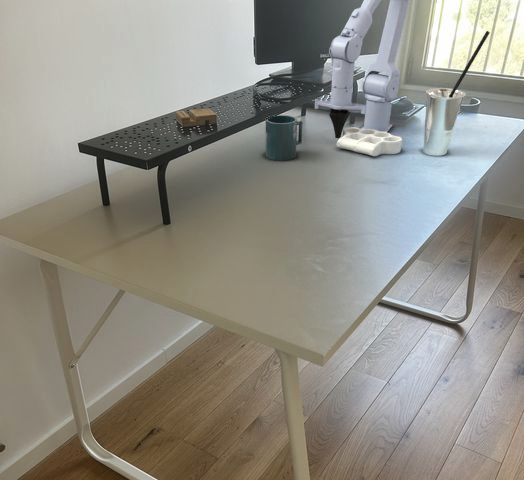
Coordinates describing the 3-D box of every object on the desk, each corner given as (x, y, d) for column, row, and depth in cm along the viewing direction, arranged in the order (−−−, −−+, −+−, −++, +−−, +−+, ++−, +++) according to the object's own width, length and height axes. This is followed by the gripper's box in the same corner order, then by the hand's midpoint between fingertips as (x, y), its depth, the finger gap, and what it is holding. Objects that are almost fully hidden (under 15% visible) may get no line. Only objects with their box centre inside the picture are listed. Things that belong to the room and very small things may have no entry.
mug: (278, 162, 147) (278, 125, 142) (259, 154, 153) (259, 118, 147) (310, 154, 153) (312, 118, 147) (291, 146, 158) (292, 111, 152)
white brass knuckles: (326, 147, 157) (354, 135, 166) (382, 161, 148) (409, 147, 157) (327, 135, 155) (355, 123, 164) (384, 148, 146) (410, 135, 155)
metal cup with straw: (463, 159, 149) (490, 31, 131) (420, 158, 149) (442, 31, 131) (452, 146, 158) (477, 24, 139) (413, 146, 158) (432, 24, 139)
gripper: (312, 87, 151) (309, 138, 159) (364, 92, 146) (358, 144, 155) (320, 81, 156) (317, 131, 164) (370, 86, 152) (365, 137, 160)
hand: (338, 137), depth 160 cm, fingers closed
